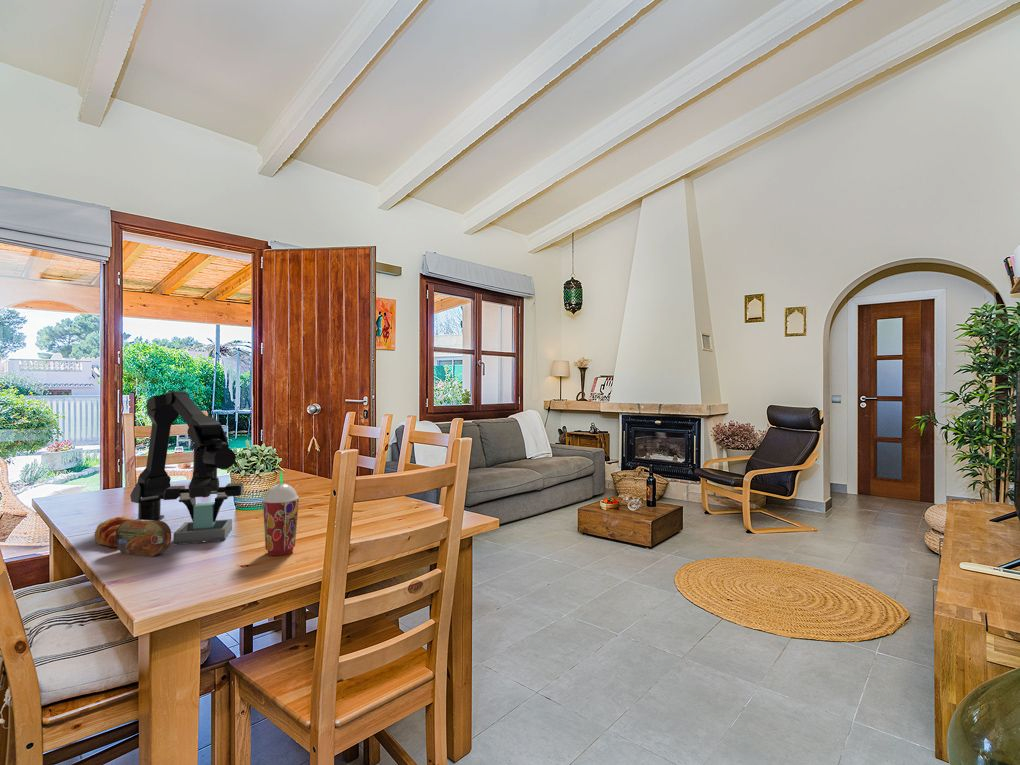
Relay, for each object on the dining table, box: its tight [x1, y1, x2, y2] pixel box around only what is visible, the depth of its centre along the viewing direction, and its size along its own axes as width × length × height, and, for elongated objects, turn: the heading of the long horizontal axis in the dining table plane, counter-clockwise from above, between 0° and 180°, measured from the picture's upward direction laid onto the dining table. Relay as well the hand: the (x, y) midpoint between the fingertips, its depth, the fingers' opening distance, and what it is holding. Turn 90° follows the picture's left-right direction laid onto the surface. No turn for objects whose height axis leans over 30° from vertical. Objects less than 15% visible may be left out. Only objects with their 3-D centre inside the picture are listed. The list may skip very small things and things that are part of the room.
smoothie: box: [262, 472, 300, 557], centre depth 131 cm, size 8×8×20 cm
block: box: [192, 501, 215, 529], centre depth 144 cm, size 4×4×6 cm
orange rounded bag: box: [115, 518, 172, 557], centre depth 129 cm, size 15×3×8 cm, turn 76°
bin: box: [173, 518, 233, 545], centre depth 144 cm, size 12×12×3 cm
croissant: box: [94, 516, 135, 548], centre depth 140 cm, size 21×10×8 cm, turn 39°
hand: (204, 522), depth 144 cm, fingers closed on block, 4 cm apart
